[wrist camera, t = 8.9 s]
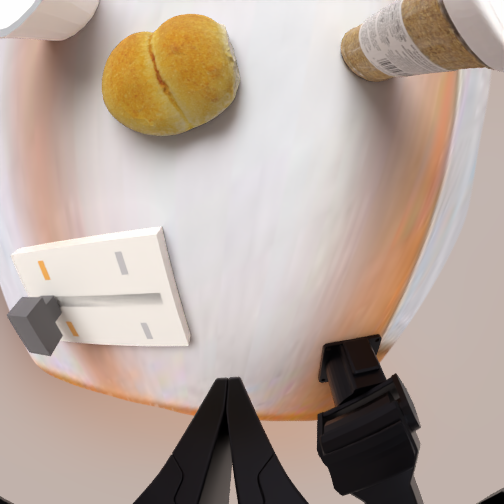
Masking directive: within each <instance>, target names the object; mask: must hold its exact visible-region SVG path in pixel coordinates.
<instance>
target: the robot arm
mask: <svg viewBox="0 0 504 504" xmlns="http://www.w3.org/2000/svg"><path fill="white" fill-rule="evenodd" d="M380 342H381V336H380V335H379V334H377V335H372V336H367V337H361V338H356V339H351V340H345V341H339V342H333V343H327V344H325V345H324V346H323V351H322V358H321V365H320V372H319V382H321V383H323V382H329V385H330V388H331V392H332V396H333V399H334V403H335V408H332V409H330V410H328V411H326V412H322V413H319V414H318V421H317V451H318V455H319V457H321V459H322V461H323V463H324V464H325V465H326V466H327V467H328V469H329V472H330V475H331V478H332V482H333V486H334V489H335V490H336V491H337V492H339V494H341V495H342V496H344V495H347V494H351V495H353V496H355V497H356V498H358V499H360V500H361V501H363V502H364V503H365V504H423V500H422V497H421V494H420V492H419V489H418V486H417V484H416V481H415V478H414V471H415V467H416V463H417V458H418V453H419V449H420V441H419V439H418V436H417V434H416V430H418V429H419V428H421V426H420V422H419V419H418V416H417V413H416V410H415V407H414V404H413V402H412V400H411V398H410V396H409V394H408V392H407V389H406V388H405V386H404V384H403V383H402V381H401V380H400V378H399V377H398V375H397V374H396V373H395V374H394V375H392V376H391V378H389V379H387V380H386V377H385V375H384V373H383V371H382V368H381V366H380V363H379V361H378V359H377V357H376V355H377V352H378V349H379V345H380ZM172 454H173V455H171V456H170V457H169V459H168V460H167V462H166V464H165V465H164V467H163V468H162V469H161V471H160V472H159V474H158V475H157V476H156V478H155V479H154V480H153V481H152V483H151V484H150V485H149V486H148V487H147V488H146V490H145V491H144V492H143V493H142V494H141V495H140V496H139V497H138V498H137V500H136V501H135V502H134V503H133V504H229V493H230V481H231V468H232V465H233V471H234V479H235V485H236V492H237V499H238V504H309V503H308V502H307V501H306V500H305V498H304V497H303V496H302V495H301V493H300V492H299V491H298V490H297V488H296V487H295V486H294V484H293V483H292V482H291V480H290V479H289V477H288V476H287V474H286V472H285V471H284V469H283V467H282V465H281V463H280V462H279V460H278V458H277V456H276V454H275V452H274V450H273V448H272V446H271V444H270V442H269V439H268V437H267V435H266V433H265V431H264V429H263V427H262V425H261V422H260V420H259V418H258V416H257V414H256V412H255V409H254V407H253V405H252V403H251V400H250V398H249V396H248V394H247V391H246V389H245V387H244V384H243V382H242V380H241V378H240V377H230V378H229V379H228V378H217V379H216V380H215V382H214V383H213V385H212V387H211V389H210V390H209V392H208V394H207V395H206V397H205V399H204V401H203V402H202V404H201V406H200V407H199V409H198V411H197V413H196V414H195V416H194V418H193V419H192V421H191V423H190V424H189V426H188V428H187V429H186V431H185V433H184V434H183V436H182V438H181V440H180V441H179V443H178V444H177V446H176V448H175V449H174V451H173V452H172ZM0 504H13V503H11V502H10V501H8V500H6V499H4V498H2V497H1V496H0ZM477 504H504V488H502V489H500V490H499V491H497V492H495V493H493V494H491V495H490V496H488V497H487V498H485V499H484V500H482V501H480V502H479V503H477Z"/></svg>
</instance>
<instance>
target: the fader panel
mask: <svg viewBox="0 0 504 504" xmlns="http://www.w3.org/2000/svg"><path fill="white" fill-rule="evenodd" d="M11 257H12V260H13V263H14V265H15V267H16V270H17V272H18V274H19V277H20V279H21V281H22V283H23V286H24V288H25V290H26V292H27V294H28V296H29V297H40V296H52V295H54V297H55V299H56V301H57V303H58V305H59V307H60V309H61V311H62V313H61V315H60V316H59V318H58V319H57V320H56V322H55V323H56V324H57V326H58V328H59V330H60V331H61V333H62V335H63V336H62V338H61V339H60V341H64V342H75V343H87V344H102V345H123V346H189V341H190V336H191V334H190V331H189V327H188V324H187V321H186V317H185V314H184V311H183V307H182V304H181V300H180V297H179V293H178V290H177V286H176V282H175V278H174V275H173V271H172V267H171V263H170V259H169V255H168V251H167V247H166V242H165V238H164V234H163V229H162V226H161V227H153V228H146V229H138V230H130V231H123V232H116V233H109V234H102V235H95V236H89V237H82V238H76V239H70V240H64V241H58V242H52V243H46V244H40V245H35V246H29V247H24V248H19V249H18V250H16V251H15V252H14V253H13V254H12V255H11Z"/></svg>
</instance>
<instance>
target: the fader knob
mask: <svg viewBox="0 0 504 504" xmlns="http://www.w3.org/2000/svg"><path fill="white" fill-rule="evenodd" d="M61 313H62V311H61V309H60V307H59V305H58V303H57V301H56V299H55V297H54V295H52V296H40V297H22V298H21V299H20V300H19V301H18V302H17V304H16V305H15V306H14V307H13V308H12V309H11V311H10V312H9V313H8V314H7V316H8V318H9V320H10V322H11V323H12V325H13V327H14V329H15V330H16V332H17V333H18V335H19V337H20V338H21V340H22V341H23V343H24V345H25V346H26V348H27V349H28V350H29V352H31V353H36V354H41V355H47V356H51V355H52V353H53V351H54V349H55V348H56V346H57V344H58V343H59V341H60V339H61V338H62V336H63V335H62V333H61V331H60V330H59V328H58V326H57V324H56V323H55V322H56V320H57V319H58V318H59V316H60V315H61Z"/></svg>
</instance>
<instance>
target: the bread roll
mask: <svg viewBox="0 0 504 504" xmlns="http://www.w3.org/2000/svg"><path fill="white" fill-rule="evenodd" d="M233 52H234V50H233V47H232V44H231V43H230V42H229V37H228V34H227V31H226V27H225V25H222V24H219V23H217V22H215V21H214V20H212V19H211V18H209V17H206V16H204V15H198V14H185V15H179V16H175V17H173V18H171V19H169V20H167V21H166V22H164V23H163V24H162V25H161V26H160V27H159V28H158V29H157V30H156V31H155V32H153V33H151V32H139V33H134V34H132V35H130V36H128V37H127V38H125V39H124V40H122V41H121V42H120V43H119V44H118V45H117V46H116V48H115V49H114V50H113V51H112V53H111V54H110V56H109V58H108V59H107V62H106V65H105V68H104V72H103V77H102V94H103V100H104V102H105V105H106V107H107V109H108V111H109V112H110V113H111V114H112V115H113V117H114V118H115V119H117V120H118V121H119V122H120V123H122V124H123V125H125V126H126V127H128V128H130V129H132V130H134V131H137V132H140V133H143V134H148V135H155V136H156V135H157V136H170V135H176V134H180V133H184V132H186V131H188V130H190V129H192V128H195V127H197V126H200V125H202V124H205V123H207V122H209V121H211V120H212V119H214V118H215V117H216V116H218V115H219V114H221V113H222V112H223V111H224V110H225V109H226V108H227V107H228V106H229V105H230V104H231V103H232V102H233V100H234V99H235V95H236V92H237V89H238V85H239V83H240V76H239V71H238V66H237V62H236V57H235V55H234V53H233Z"/></svg>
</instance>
